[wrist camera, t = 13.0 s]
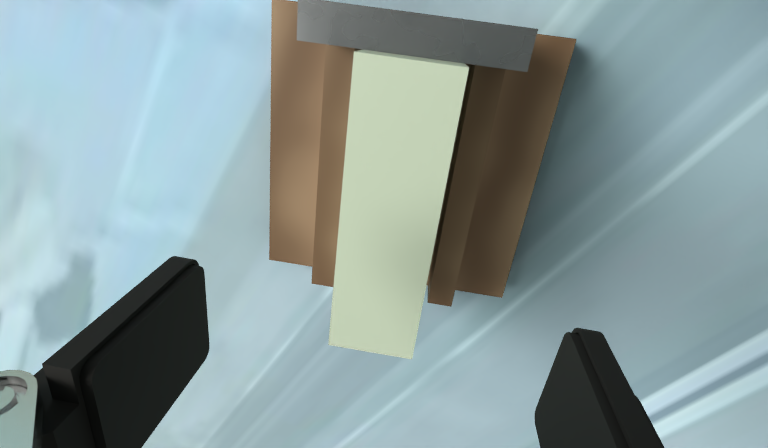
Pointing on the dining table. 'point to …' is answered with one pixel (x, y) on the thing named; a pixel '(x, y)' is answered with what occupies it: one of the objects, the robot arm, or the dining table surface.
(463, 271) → the wooden slotted rack
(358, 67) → the pale green foam block
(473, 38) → the bookend
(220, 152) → the dining table surface
